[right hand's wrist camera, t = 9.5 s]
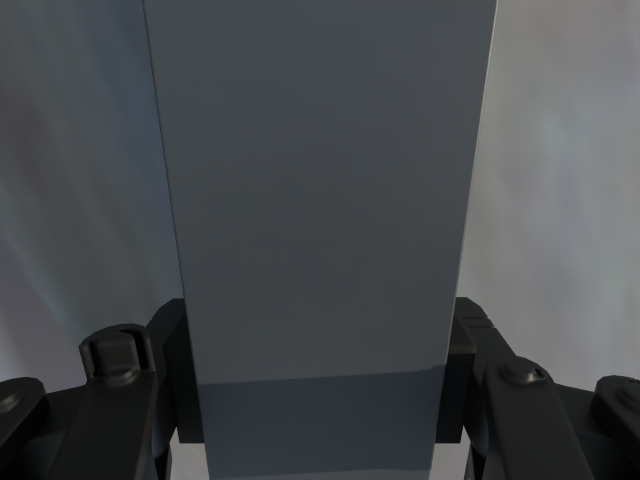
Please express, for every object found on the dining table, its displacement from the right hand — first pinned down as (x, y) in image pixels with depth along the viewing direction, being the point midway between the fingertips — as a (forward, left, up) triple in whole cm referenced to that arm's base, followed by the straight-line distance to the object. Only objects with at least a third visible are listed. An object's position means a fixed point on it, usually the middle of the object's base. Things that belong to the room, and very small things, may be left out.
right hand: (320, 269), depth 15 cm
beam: (+20, +23, -1) cm, 30 cm away
